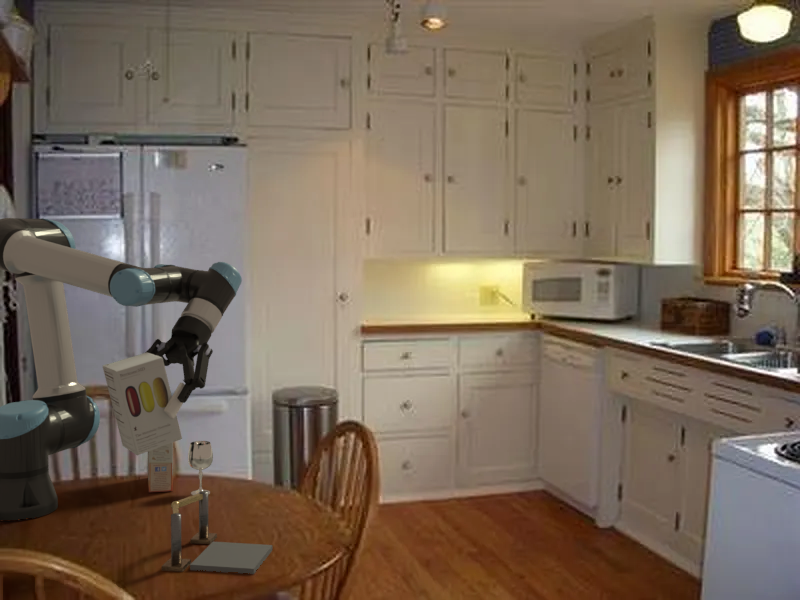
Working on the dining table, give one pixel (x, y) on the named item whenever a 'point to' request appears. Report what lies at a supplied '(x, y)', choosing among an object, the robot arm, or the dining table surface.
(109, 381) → the supplement box
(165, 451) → the cracker box
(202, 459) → the wineglass
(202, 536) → the small hurdle
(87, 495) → the dining table surface
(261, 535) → the dining table surface
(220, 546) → the mat
